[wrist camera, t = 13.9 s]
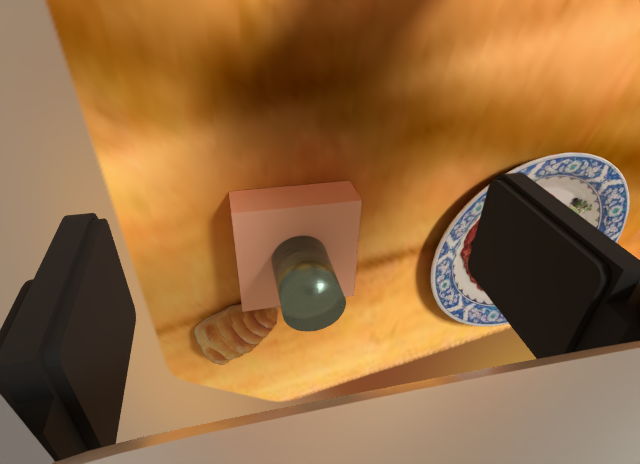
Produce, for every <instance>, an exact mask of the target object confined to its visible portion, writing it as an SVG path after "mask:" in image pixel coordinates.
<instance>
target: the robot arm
mask: <svg viewBox="0 0 640 464" xmlns="http://www.w3.org/2000/svg"><path fill="white" fill-rule="evenodd" d="M468 270H469V272H470V274H471V276H472V277H473V278H474V279H475V281H476V282H477V283H478V285H479V286H480V287H481V288H482V290H483V291H484V292H485V293H486V295H487V296H488V297H489V298H490V300H491V301H492V302H493V304H494V305H495V306H496V307H497V309H498V310H499V311H500V312H501V314H502V315H503V316H504V318H505V319H506V320H507V321H508V323H509V324H510V325H511V326H512V328H513V329H514V330H515V331H516V333H517V334H518V335H519V337H520V338H521V339H522V340H523V341H524V343H525V344H526V345H527V347H528V348H529V349H530V351H531V352H532V353H533V354H534V356H535V357H536V358H537V359H535V360H530V361H525V362H519V363H513V364H508V365H503V366H497V367H492V368H487V369H482V370H477V371H471V372H466V373H461V374H455V375H450V376H445V377H440V378H434V379H429V380H424V381H419V382H414V383H409V384H403V385H398V386H393V387H388V388H383V389H378V390H372V391H367V392H362V393H357V394H351V395H347V396H341V397H336V398H331V399H326V400H321V401H316V402H311V403H306V404H301V405H296V406H291V407H286V408H281V409H275V410H270V411H265V412H260V413H255V414H250V415H245V416H240V417H235V418H230V419H225V420H221V421H216V422H212V423H207V424H202V425H197V426H192V427H188V428H183V429H179V430H174V431H169V432H165V433H160V434H155V435H150V436H146V437H141V438H137V439H133V440H129V441H126V442H121V443H118V444H116V438H117V432H118V425H119V420H120V413H121V407H122V402H123V395H124V389H125V383H126V377H127V371H128V365H129V359H130V353H131V347H132V341H133V335H134V328H135V321H136V314H135V308H134V304H133V301H132V298H131V295H130V291H129V288H128V285H127V282H126V279H125V275H124V272H123V269H122V266H121V263H120V259H119V256H118V253H117V250H116V246H115V243H114V240H113V237H112V234H111V230H110V228H109V224H108V222H107V220H106V219H98V217H97V216H96V214H94V213H89V214H78V215H67V216H65V217H64V218H63V219H62V221H61V223H60V225H59V227H58V230H57V232H56V234H55V236H54V238H53V240H52V242H51V244H50V246H49V248H48V251H47V253H46V255H45V257H44V259H43V261H42V263H41V265H40V267H39V269H38V271H37V273H36V276H35V278H34V279H33V280H29V281H27V282H25V284H24V285H23V286H22V288H21V290H20V292H19V294H18V296H17V298H16V300H15V302H14V304H13V306H12V308H11V310H10V312H9V314H8V316H7V318H6V320H5V322H4V324H3V326H2V328H1V330H0V464H640V260H639V259H637V258H636V257H635V256H633V255H632V254H631V253H629V252H628V251H627V250H625V249H624V248H623V247H621V246H620V245H619V244H617V243H616V242H615V241H613V240H612V239H611V238H609V237H608V236H607V235H605V234H604V233H603V232H601V231H600V230H599V229H597V228H596V227H595V226H593V225H592V224H591V223H589V222H588V221H587V220H585V219H584V218H583V217H581V216H580V215H579V214H577V213H576V212H575V211H573V210H572V209H571V208H569V207H568V206H567V205H565V204H564V203H563V202H561V201H560V200H559V199H557V198H556V197H555V196H553V195H552V194H551V193H549V192H548V191H547V190H545V189H544V188H543V187H541V186H540V185H539V184H537V183H536V182H535V181H533V180H532V179H531V178H529V177H528V176H527V175H525V174H523V173H509V174H500V175H498V176H497V177H496V178H495V180H494V181H492V182H491V183H490V184H489V187H488V190H487V194H486V198H485V201H484V205H483V209H482V212H481V216H480V219H479V223H478V227H477V230H476V234H475V238H474V241H473V245H472V248H471V252H470V256H469V259H468Z"/></svg>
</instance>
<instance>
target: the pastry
mask: <svg viewBox="0 0 640 464" xmlns="http://www.w3.org/2000/svg"><path fill="white" fill-rule="evenodd" d="M276 323H277V309H276V307H272V308H265V309H258V310H251V311H244V312H242V304H239V305H231V306H229V307H228V308H227V309H224V310H222V311H220V312H218V313H215V314H213V315H211V316H209V317H208V318H206V319H204V320H203V321H202V322H200V323H199V324H198V325H197V326H196V327H195V329H194V334H195V337H196V339H197V342H198V344H199V345H200V346H201V349H202V352H203V353H204V355H205V356H206V357H207V358H208V359H209V360H210V361H211V362H213V363H217V364H220V365H224V364H225V363H228V362H229V361H230V360H232V359H235V358H238V357H240V356H242V355H243V354H245V353H248V352H250V351H252V350H253V348H255V347H256V346H257V345H258V344H259V343H260V342H261V341H262V340H263V338H265V337H266V336H267V334H268V333H269V332H270V331H271V330H272V328H273V327H274V326H275V325H276Z"/></svg>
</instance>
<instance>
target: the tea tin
mask: <svg viewBox="0 0 640 464" xmlns="http://www.w3.org/2000/svg"><path fill="white" fill-rule="evenodd" d="M272 267H273V272H274V277H275V281H276V286H277V291H278V295H279V300H280V305H281V309H282V314H283V318H284V320H285V322H286V323H287V324H288V325H289V326H290V327H292V328H294V329H296V330H299V331H316V330H320V329H323V328H326V327H328V326H330V325H331V324H333V323H334V322H335V321H336V320H338V319H339V317H340V316H341V315H342V313H343V311H344V309H345V305H346V300H345V297H344V294H343V292H342V289H341V286H340V284H339V281H338V279H337V276H336V274H335V271H334V269H333V266H332V264H331V261H330V259H329V256H328V253H327V251H326V248H325V246H324V245H323V243H322V242H321V241H319V240H318V239H316V238H314V237H311V236H295V237H292V238H289V239H287V240H285V241H284V242H282V243H281V244H280V245H279V246H278V247H277V248H276V249H275V251H274V253H273V255H272Z"/></svg>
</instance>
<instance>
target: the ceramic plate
mask: <svg viewBox="0 0 640 464" xmlns="http://www.w3.org/2000/svg"><path fill="white" fill-rule="evenodd" d="M509 173H523V174H525V175H527V176H528V177H529V178H531V179H532V180H533V181H535V182H536V183H537V184H539V185H540V186H541V187H543V188H544V189H545V190H547V191H548V192H549V193H551V194H552V195H553V196H555V197H556V198H557V199H559V200H560V201H561V202H563V203H564V204H565V205H567V206H568V207H569V208H571V209H572V210H573V211H575V212H576V213H577V214H579V215H580V216H581V217H583V218H584V219H585V220H587V221H588V222H589V223H591V224H592V225H593V226H595V227H596V228H597V229H599V230H600V231H601V232H603V233H604V234H605V235H607V236H608V237H609V238H611V239H612V240H613V241H615V242H616V243H617V241H618V239H619V237H620V235H621V233H622V231H623V229H624V226H625V222H626V219H627V215H628V211H629V192H628V187H627V184H626V181H625V178H624V177H623V175H622V174H621V172H620V171H619V170H618V169H617V168H616V167H615V166H614V165H613V164H612V163H610V162H609V161H607V160H605V159H603V158H601V157H598V156H595V155H591V154H586V153H561V154H555V155H549V156H546V157H542V158H539V159H536V160H533V161H530V162H528V163H525V164H523V165H521V166H519V167H517V168H515V169H513V170H511V171H509V172H507V173H505V174H509ZM488 187H489V185H488V186H486V187H485V188H484V189H483V190H481V191H480V192H479V193H478V194H477V195H476V196H474V197H473V198H472V199H471V200H470V201H469V202H468V203H467V204H466V205H465V206H464V207H463V209H462V210H461V211H460V212H459V213H458V214H457V216H456V217H455V218H454V220H453V221H452V222H451V223H450V225H449V227H448V228H447V230H446V231H445V233H444V235H443V236H442V238H441V240H440V242H439V244H438V247H437V249H436V252H435V255H434V258H433V262H432V267H431V276H430V277H431V288H432V292H433V296H434V298H435V300H436V302H437V304H438V306H439V307H440V308H441V310H442V311H443V312H444V313H445V314H447V315H448V316H449V317H451V318H452V319H454V320H456V321H458V322H461V323H464V324H468V325H473V326H498V325H504V324H509V323H508V321H507V320H506V319H505V318H504V316H503V315H502V314H501V312H500V311H499V310H498V309H497V307H496V306H495V305H494V304H493V302H492V301H491V300H490V298H489V297H488V296H487V295H486V293H485V292H484V291H483V290H482V288H481V287H480V286H479V285H478V283H477V282H476V281H475V279H474V278H473V277H472V276H471V274H470V272H469V270H468V259H469V256H470V252H471V248H472V245H473V241H474V238H475V234H476V230H477V227H478V223H479V219H480V216H481V212H482V209H483V205H484V201H485V198H486V194H487V190H488Z"/></svg>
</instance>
